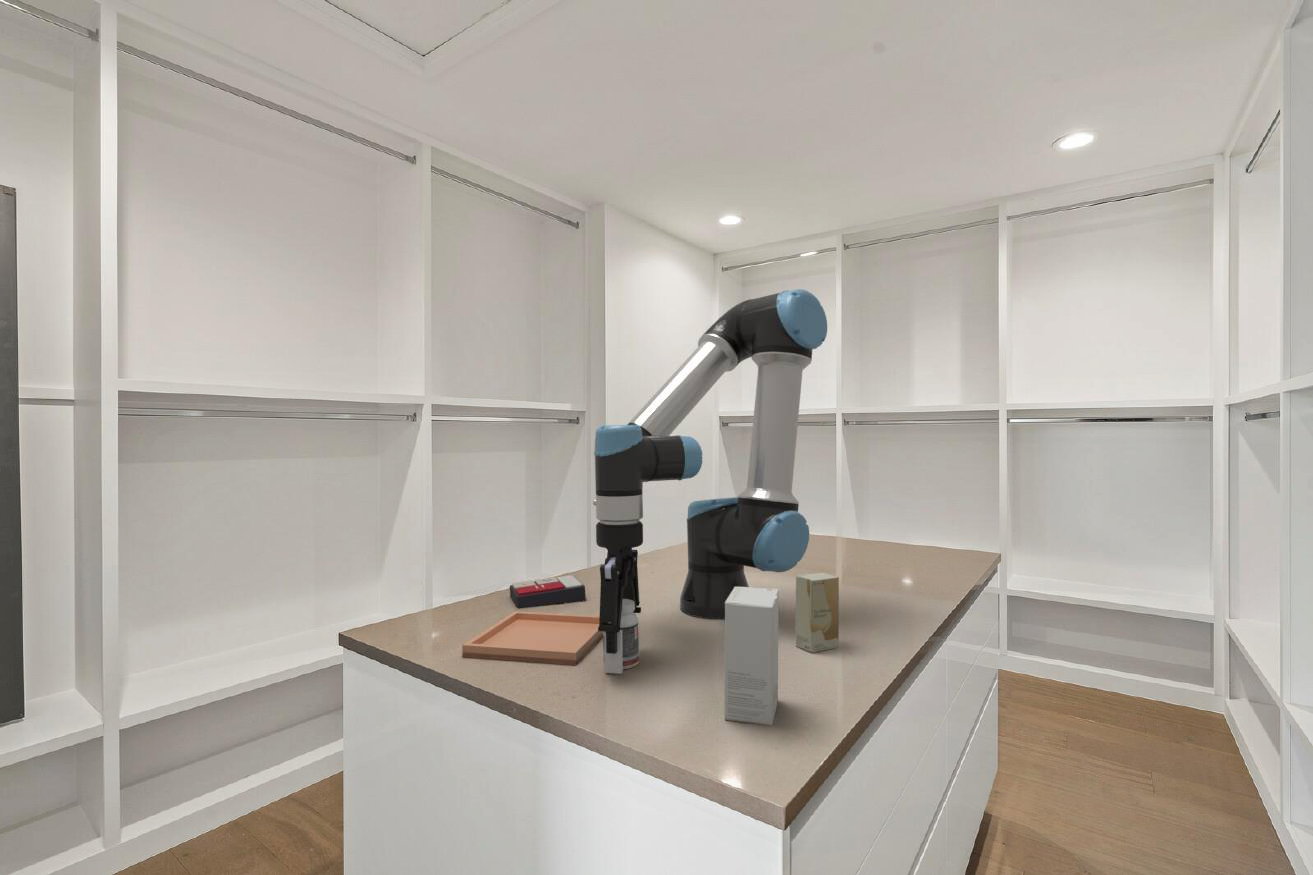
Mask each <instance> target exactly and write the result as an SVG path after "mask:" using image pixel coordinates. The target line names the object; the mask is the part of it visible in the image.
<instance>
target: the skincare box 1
mask: <svg viewBox="0 0 1313 875" xmlns="http://www.w3.org/2000/svg"><path fill="white" fill-rule="evenodd" d="M779 593H780V592H779V589H777V588H764V587H751V586H750V587H734V589H733V590H732V592H731V594H730V595H729V597H728V598H727V600H726V602H725V618H724V721H731V722H739V723H748V724H755V725H765V726H773V723H774V720H775V715H776V710H777V706H778V702H779V597H780V596H779Z"/></svg>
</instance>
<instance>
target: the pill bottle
mask: <svg viewBox="0 0 1313 875" xmlns="http://www.w3.org/2000/svg"><path fill="white" fill-rule="evenodd" d="M634 610H635V603H634V601H633V600H629V599H623V602H622V612H621V623H620V630H622V648H623V670H629V669H632V668H634V667H636V666H638V665H639V662H640V640H639V638H640V637H639V635H640V634H639V633H640V632H639V619H638V616H637V614H636V613H634V614H633V611H634ZM635 614H636V615H635ZM602 639H603V640H602V642H603V643H602V644H603V650H602V651H603V652H604V631H603V637H602Z"/></svg>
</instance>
